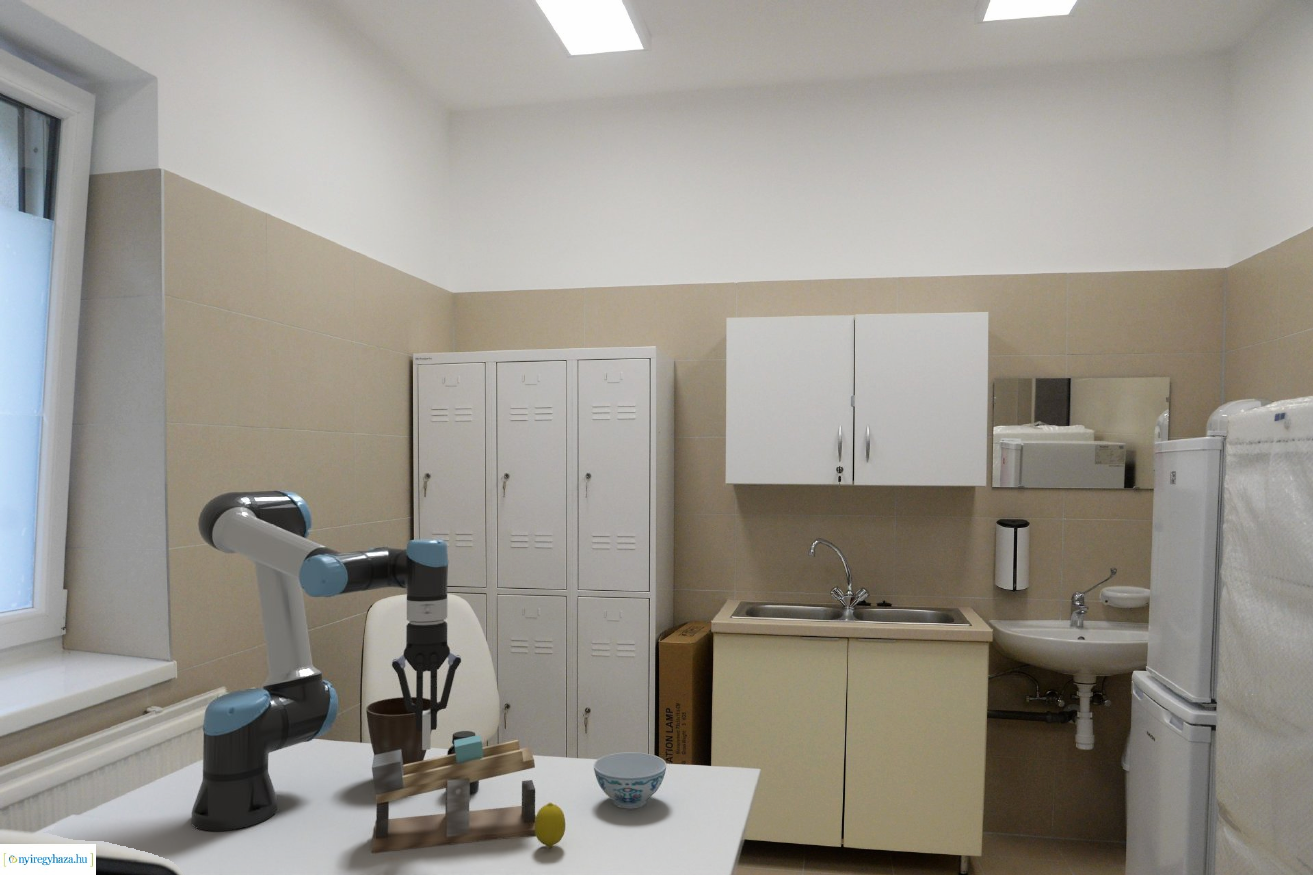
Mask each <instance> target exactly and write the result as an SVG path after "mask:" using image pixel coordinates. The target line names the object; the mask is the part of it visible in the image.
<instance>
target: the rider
mask: <svg viewBox="0 0 1313 875" xmlns="http://www.w3.org/2000/svg"><path fill="white" fill-rule="evenodd" d="M454 745H455V753H456V760H457V763H462V762H466V761H471V760H475V759H480V758H484V756H483V748H482V747H483V742H482V736H481V734H478V735H475V736H472V737H467V738H463V739H458V740H454Z"/></svg>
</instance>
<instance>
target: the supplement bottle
mask: <svg viewBox="0 0 1313 875" xmlns="http://www.w3.org/2000/svg"><path fill="white" fill-rule="evenodd" d="M472 736H476V733H475V731H472V730H461V731H456V732H453V734H452V740H451V744H452V745H451V746H450V747H449V748H448V750H447V753H446V755H450V754H455V745H454V740H458V739H463V738H467V737H472ZM479 787H480V780H479V781H474V782H470V794H469V796H470V795H473V794H475V793H477V792H478V790H479Z"/></svg>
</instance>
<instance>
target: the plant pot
mask: <svg viewBox="0 0 1313 875" xmlns="http://www.w3.org/2000/svg"><path fill="white" fill-rule="evenodd" d="M411 699H412V703H414V704H416V696H411ZM429 710H430V698H426V697H423V711H429ZM365 712H366V720H367V728H368V734H369V739H370V744H371V749H372V751H373V756H374V755H377V754H382V753H387V752H391V751H396V750H400V749H401V752H402V759H403V765H405V764H410V763H414V762H419V761H423V760H425V756H426V753H427V750H422V731H417V730H416V714H415V713H414V712H408V711H407V710H406V707H405V702H404V698H403V696H399V697H390V698H385V699H381V700H377V701H374V702H371V703H370V704H368V705H367V706H366V708H365ZM432 731H433V730H431V732H432Z"/></svg>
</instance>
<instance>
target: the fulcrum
mask: <svg viewBox="0 0 1313 875" xmlns="http://www.w3.org/2000/svg"><path fill="white" fill-rule="evenodd" d="M469 794H470V779H469V778H466V779H454V780H447V788H445V808H444V809H445V813H439V814H426V815H418V816H407V817H405V816H404V817H396V818H390V817H389V815H390V813H389V812H390V808H389V807H390V801H388V802H383V803H379V804H376V818H375V819H376V820H375V824H374V829H373V837H372V845H371V853H373V854H374V853H381V852H382V853H384V852H391V851H400V850H401V851H402V850H410V849H419V848H430V847H437V846H438V847H439V846H447V845H448V846H449V845H455V844H456V845H458V844H465V843H474V842H476V843H477V842H483V841H493V840H502V839H510V838H512V839H513V838H521V837H529V836H530V837H531V836H536V833H535V820H536V816H537V814H536V787H535V785H534V782H533V779H529V780H527V779H526V780H522V781H521V805H519V806H518V805H517V806H508V807H506V806H505V807H497V808H488V809H477V810H476V809H475V810H470V795H469Z"/></svg>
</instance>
